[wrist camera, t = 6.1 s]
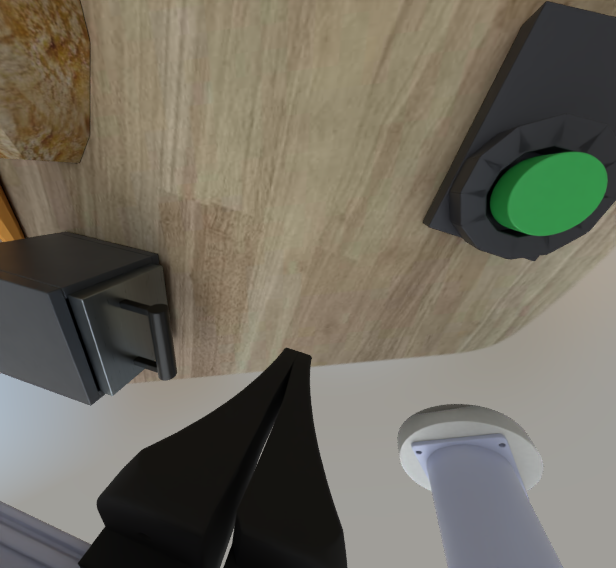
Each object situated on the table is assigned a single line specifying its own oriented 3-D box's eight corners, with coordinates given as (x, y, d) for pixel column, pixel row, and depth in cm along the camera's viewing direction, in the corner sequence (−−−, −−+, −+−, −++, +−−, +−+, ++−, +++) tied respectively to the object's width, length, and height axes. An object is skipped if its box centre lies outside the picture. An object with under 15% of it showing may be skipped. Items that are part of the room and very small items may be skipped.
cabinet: (158, 253, 22) (46, 293, 14) (170, 341, 27) (90, 406, 19) (66, 231, 23) (-80, 256, 16) (92, 317, 28) (-10, 369, 20)
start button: (539, 237, 12) (565, 246, 11) (474, 217, 12) (490, 222, 11) (593, 167, 11) (633, 165, 9) (518, 145, 11) (543, 140, 9)
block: (516, 255, 15) (555, 274, 12) (421, 224, 16) (434, 235, 13) (663, 58, 11) (784, 9, 8) (522, 23, 11) (582, -36, 8)
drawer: (201, 275, 21) (133, 314, 15) (205, 354, 25) (153, 410, 19) (76, 243, 22) (-30, 267, 16) (100, 322, 27) (21, 364, 21)
